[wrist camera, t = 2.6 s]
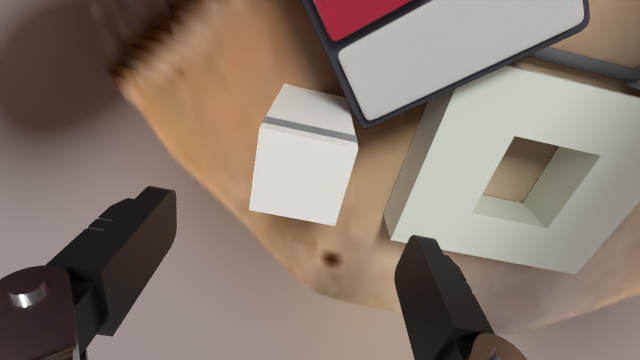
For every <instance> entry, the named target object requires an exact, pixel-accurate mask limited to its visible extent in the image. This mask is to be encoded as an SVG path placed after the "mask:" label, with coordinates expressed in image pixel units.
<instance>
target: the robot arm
mask: <svg viewBox="0 0 640 360" xmlns="http://www.w3.org/2000/svg"><path fill="white" fill-rule="evenodd" d="M176 223H177V222H176V193H175V191H174V190H169V189H164V188H158V187H153V186H148V187H147V188H145V190H144V191H143V192H142V193H140V194H139V196H137V197H136V198H135V199H130V198H127V199H125V200H122V201H120V202H118V203H116V204H114V205H112V206H110V207H109V208H108V209H107V210H106V211H105V212H103V213H102V214H101V215H100V216H99V218H98V219H96V220H95V221H94V222H92V223H91V224H90V225H89V227H88V229H85V230H84V231H83V232H82V233H80V234H79V235H78V236H77V237H76V238H75V239H74V240H73V241H71V242H70V243H69V244H68V245H67V246H66V247H65V248H64V249H63V250H62V251H60V253H58V254H57V255H56V256H55V257H54V258H53V259H52V260H51V261H49V262H48V263H47V264H46V265H42V266H34V267H29V268H25V269H21V270H19V271H16V272H13V273H11V274H9V275H7V276H5V277H3V278H1V279H0V360H88V351H87V347H88V345H89V344H90V342H91V341H92V339H93V338H94V337H95V335H96V334H99V335H106V336H113V335H114V333H115V332H116V330H117V329H118V327H119V326H120V324H121V323H122V321H123V320H124V318H125V317H126V315H127V314H128V312H129V310H130V309H131V307H132V306H133V304H134V303H135V301H136V300H137V298H138V296H139V295H140V294H141V292H142V291H143V289H144V287H145V286H146V284H147V283H148V281H149V280H150V278H151V277H152V275H153V274H154V272H155V271H156V269H157V267H158V266H159V264H160V263H161V261H162V260H163V258H164V257H165V255H166V254H167V252H168V251H169V249H170V248H171V246H172V244H173V241H174V239H175V235H176V228H177V226H176V225H177V224H176ZM395 286H396V290H397V294H398V298H399V302H400V306H401V309H402V313H403V317H404V321H405V325H406V328H407V332H408V336H409V340H410V344H411V347H412V351H413V355H414V359H415V360H527V359H526V358H525V356H524V355H523V354H522V353H521V352H520V351H519V350H518V349H517V348H516V347H515V346H514V345H512V344H511V343H510V342H508V341H507V340H505V339H504V338H502V337H499V336H497V335H495V333H494V331H493V330H492V328H491V326H490V324H489V322H488V320H487V318H486V316H485V315H484V313H483V311H482V309H481V307H480V305H479V303H478V301H477V300H476V298H475V296H474V294H472V290H471V288H470V286H469V285H468V283H466V279H465V277H464V275H463V273H462V271H461V270H460V268H459V267H458V266H457V265H456V264H455V263H454V262H453V260H452V259H451V258H450V257H449V256H447V255H444V254H443V252H442V250H441V248H440V246H439V244H438V242H437V240H436V239H434V238H429V237H423V236H418V235H412V236H411V237H410V238H409V240H408V242H407V244H406V246H405V249H404V251H403V253H402V255H401V258H400V260H399V262H398V264H397V267H396V270H395Z"/></svg>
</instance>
